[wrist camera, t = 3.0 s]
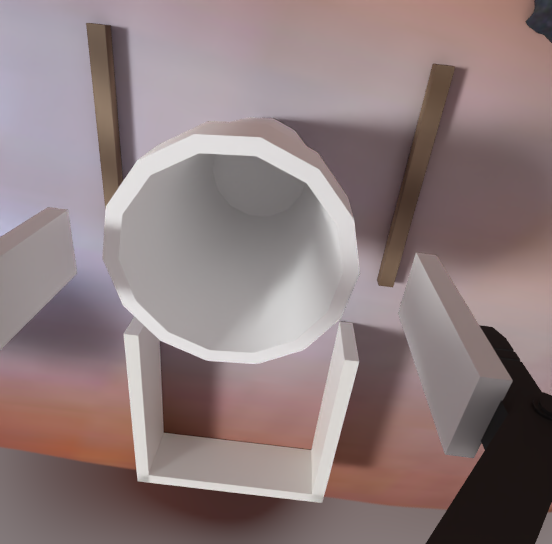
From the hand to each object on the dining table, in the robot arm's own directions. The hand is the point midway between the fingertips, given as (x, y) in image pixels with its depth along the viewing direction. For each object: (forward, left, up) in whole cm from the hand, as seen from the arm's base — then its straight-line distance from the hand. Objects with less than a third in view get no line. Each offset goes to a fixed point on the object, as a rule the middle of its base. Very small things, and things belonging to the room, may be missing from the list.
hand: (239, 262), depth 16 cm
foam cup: (0, 0, -13) cm, 13 cm away
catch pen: (+19, 0, -12) cm, 22 cm away
